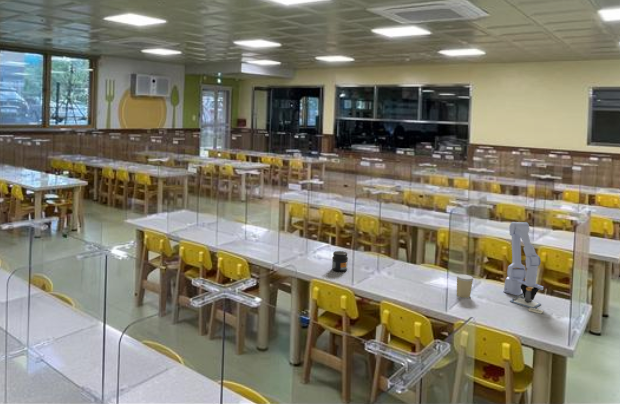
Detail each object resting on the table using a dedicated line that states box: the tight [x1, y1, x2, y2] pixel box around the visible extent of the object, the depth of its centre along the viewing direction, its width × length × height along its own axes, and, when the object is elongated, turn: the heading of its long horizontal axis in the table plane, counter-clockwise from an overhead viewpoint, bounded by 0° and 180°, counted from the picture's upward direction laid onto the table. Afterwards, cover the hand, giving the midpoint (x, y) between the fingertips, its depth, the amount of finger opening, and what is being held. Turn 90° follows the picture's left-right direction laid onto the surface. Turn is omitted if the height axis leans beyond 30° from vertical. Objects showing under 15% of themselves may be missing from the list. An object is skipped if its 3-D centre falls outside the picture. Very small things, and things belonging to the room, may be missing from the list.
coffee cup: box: [456, 273, 474, 299], centre depth 314 cm, size 9×9×12 cm
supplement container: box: [331, 250, 349, 273], centre depth 354 cm, size 10×10×12 cm
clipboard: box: [509, 296, 542, 309], centre depth 306 cm, size 14×10×1 cm
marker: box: [524, 286, 533, 302], centre depth 305 cm, size 4×4×8 cm
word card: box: [527, 308, 544, 314], centre depth 295 cm, size 7×5×1 cm
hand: (528, 298), depth 306 cm, fingers closed on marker, 4 cm apart
